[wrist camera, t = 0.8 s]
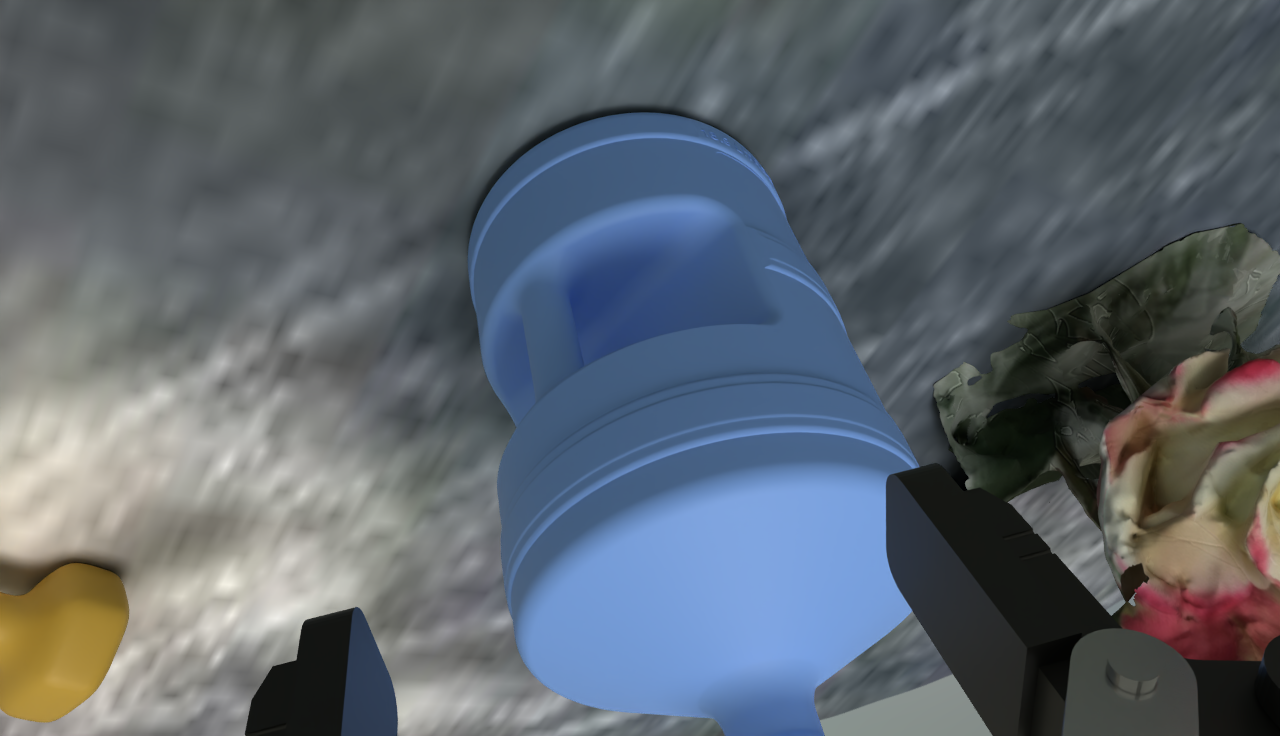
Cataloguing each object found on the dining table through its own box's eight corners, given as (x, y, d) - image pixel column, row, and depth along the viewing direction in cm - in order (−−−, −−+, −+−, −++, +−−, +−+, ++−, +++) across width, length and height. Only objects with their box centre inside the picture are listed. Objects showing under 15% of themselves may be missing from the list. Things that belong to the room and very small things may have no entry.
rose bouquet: (1263, 414, 71) (1622, 815, 50) (903, 534, 73) (1109, 966, 53) (1364, 152, 52) (2002, 624, 32) (875, 325, 54) (1178, 871, 34)
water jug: (834, 206, 47) (1150, 745, 28) (636, 389, 54) (780, 919, 35) (606, 34, 38) (845, 662, 19) (403, 282, 45) (427, 921, 26)
